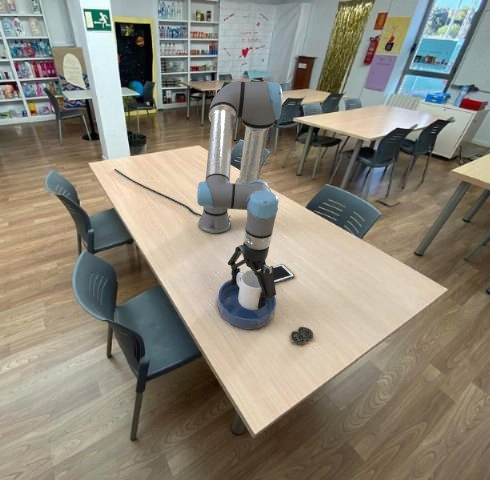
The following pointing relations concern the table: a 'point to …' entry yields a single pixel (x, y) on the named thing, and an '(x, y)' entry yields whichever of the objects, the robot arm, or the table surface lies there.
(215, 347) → the table surface
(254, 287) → the mug
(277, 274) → the cell phone
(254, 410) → the table surface
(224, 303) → the bowl
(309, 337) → the corroded twin loop
